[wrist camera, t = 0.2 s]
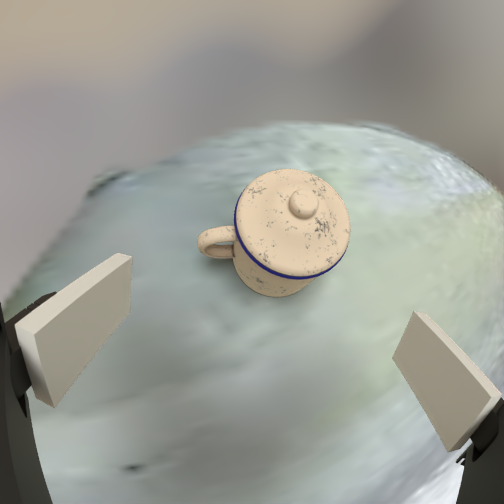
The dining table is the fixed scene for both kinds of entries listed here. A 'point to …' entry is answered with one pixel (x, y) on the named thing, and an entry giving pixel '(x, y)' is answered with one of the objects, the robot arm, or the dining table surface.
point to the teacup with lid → (282, 232)
